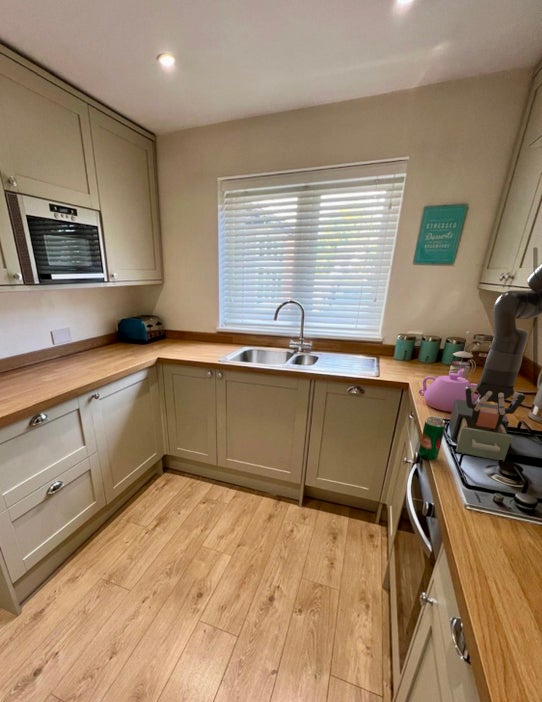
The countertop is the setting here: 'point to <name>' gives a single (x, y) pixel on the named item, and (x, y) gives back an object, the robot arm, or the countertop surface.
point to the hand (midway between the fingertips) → (484, 423)
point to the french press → (460, 364)
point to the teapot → (446, 390)
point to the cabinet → (463, 411)
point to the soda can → (431, 438)
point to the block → (487, 417)
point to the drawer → (482, 440)
